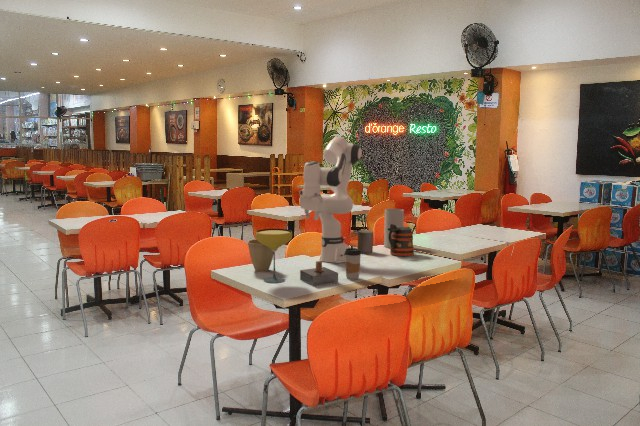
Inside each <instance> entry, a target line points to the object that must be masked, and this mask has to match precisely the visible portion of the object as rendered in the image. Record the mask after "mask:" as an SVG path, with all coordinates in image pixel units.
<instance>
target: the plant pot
mask: <svg viewBox="0 0 640 426" xmlns="http://www.w3.org/2000/svg"><path fill="white" fill-rule="evenodd" d="M247 246H248V251H249V252H248V253H249V256H250V260H251V262H252V265H253V269H254V271H255V272H258V273H259V272H263V273H264V272H268V271H269V270H270V267H271V264H272V261H273V259H274V252H273V251H272V250H271V249H270V248H269V247H268V246H266V245H264V244H262V243H260V242H259V241H258V240H257V239H256V238H254V239H251V240H247Z"/></svg>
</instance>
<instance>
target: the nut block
mask: <svg viewBox="0 0 640 426" xmlns="http://www.w3.org/2000/svg"><path fill="white" fill-rule="evenodd" d="M299 274H300V275H299V280H300V281H301V282H304V283H306V284H308V285H310V286H311V287H317V286H318V287H319V286H325V285H332V284H338V283H339V272H337V271H335V270H332V269H330V268H327V267H325V266H324V267H323V266H322V272H320V273H316V267H314V268H313V267H312V268H305V269H299ZM337 282H338V283H337ZM331 283H332V284H331Z"/></svg>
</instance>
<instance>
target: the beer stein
mask: <svg viewBox="0 0 640 426" xmlns="http://www.w3.org/2000/svg"><path fill="white" fill-rule="evenodd" d="M388 230H389V231H390V232H389V242H390V244H391V247H390V248H389V249H390V251H389V252H390V253H389V254H390V255H392V256H397V257H412V256H414V255H415V249H414V242H413V241H414V235H413V230H412V228H410V226H403V227H396V225H393V224H391V225H390V228H388ZM392 232H393V233H392ZM391 234H392V238H391Z"/></svg>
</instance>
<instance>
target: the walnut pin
mask: <svg viewBox="0 0 640 426" xmlns="http://www.w3.org/2000/svg"><path fill="white" fill-rule="evenodd" d="M322 267H323V261H320V260H317V261H315V268H316V273H320V272H322Z"/></svg>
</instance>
